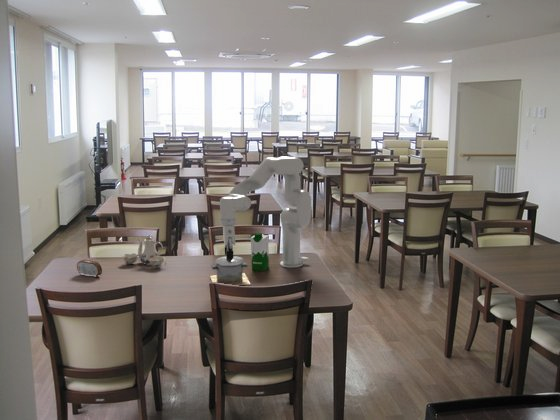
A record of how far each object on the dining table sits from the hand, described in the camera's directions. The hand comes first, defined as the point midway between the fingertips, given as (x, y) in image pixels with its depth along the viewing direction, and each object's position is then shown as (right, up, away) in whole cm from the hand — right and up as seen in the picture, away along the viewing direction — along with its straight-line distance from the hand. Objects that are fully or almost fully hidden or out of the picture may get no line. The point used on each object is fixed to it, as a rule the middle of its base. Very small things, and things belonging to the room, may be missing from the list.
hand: (229, 256), depth 290 cm
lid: (0, -3, +1) cm, 3 cm away
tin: (-74, -12, +13) cm, 76 cm away
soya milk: (+15, -9, +23) cm, 29 cm away
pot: (0, -13, +2) cm, 13 cm away
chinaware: (-49, -8, +34) cm, 60 cm away
